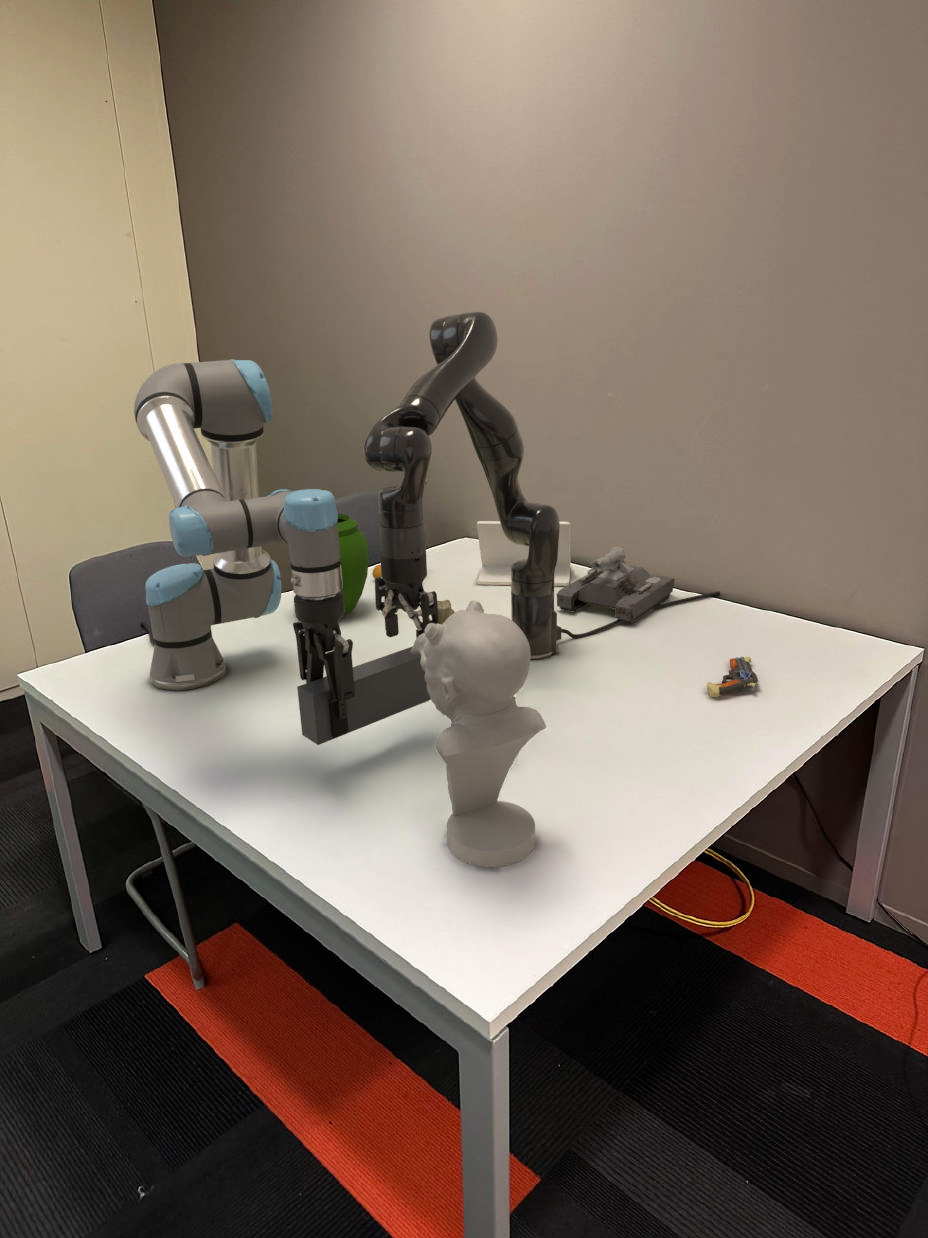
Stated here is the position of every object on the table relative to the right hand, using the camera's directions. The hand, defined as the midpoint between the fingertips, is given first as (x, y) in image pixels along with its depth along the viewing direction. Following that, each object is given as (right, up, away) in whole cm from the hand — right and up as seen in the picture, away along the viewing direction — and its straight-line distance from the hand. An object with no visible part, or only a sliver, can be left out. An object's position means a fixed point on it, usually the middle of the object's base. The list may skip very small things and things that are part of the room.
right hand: (407, 642), depth 145 cm
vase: (-23, +5, +69) cm, 73 cm away
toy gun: (+63, -8, +26) cm, 69 cm away
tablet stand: (+27, +16, +94) cm, 99 cm away
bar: (-6, -12, -1) cm, 14 cm away
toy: (+48, +7, +70) cm, 85 cm away
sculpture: (+6, -7, +35) cm, 36 cm away
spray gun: (-8, +16, +96) cm, 97 cm away
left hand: (-12, -14, -6) cm, 19 cm away
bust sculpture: (+10, -27, -20) cm, 35 cm away
